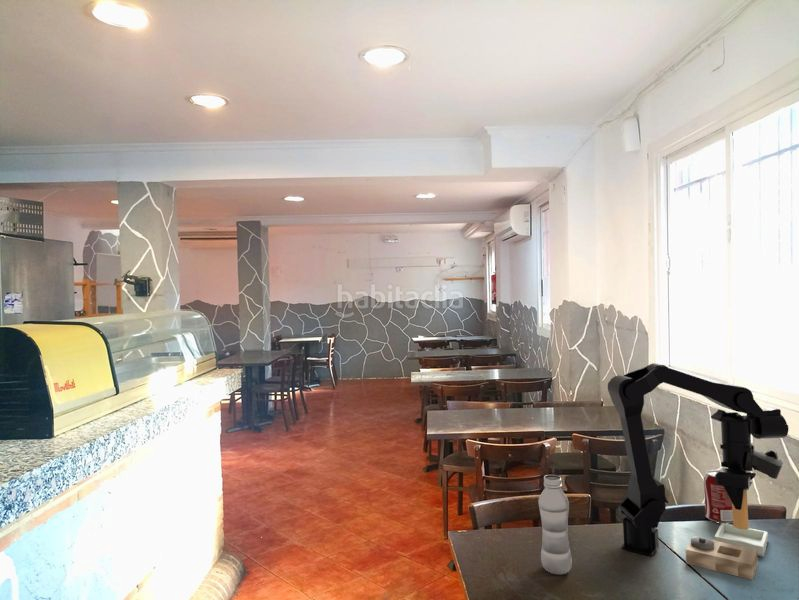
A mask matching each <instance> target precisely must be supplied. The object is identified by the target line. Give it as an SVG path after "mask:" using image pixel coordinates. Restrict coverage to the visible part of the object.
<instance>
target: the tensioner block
mask: <svg viewBox="0 0 799 600" xmlns="http://www.w3.org/2000/svg"><path fill="white" fill-rule="evenodd" d="M758 562H759V561H758V556H757V550H755V549H750V548H746V547H741V546H737V545H732V544H728V543H723V542H719V541H715V539H710V538H709V539H708V538H705V537H700V536H696V535H693V537H692V538H691V539H690V542H688V545H687V546H686V548H685V564H687V565H692V566H695V567H700V568H704V569H708V570H712V571H716V572H719V573H724V574H728V575H731V576H736V577H739V578H743V579H746V580H752V581H754V577H755V575H756V571H757V568H758V565H759V563H758Z"/></svg>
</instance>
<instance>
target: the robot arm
mask: <svg viewBox="0 0 799 600" xmlns="http://www.w3.org/2000/svg"><path fill="white" fill-rule="evenodd" d="M663 383H664V384H667V385H670V386H673V387H676V388H679V389H682V390H686V391H687V392H688V391H689V392H690V393H691V392H692V393H694V394H697V395H701V396H702V397H704V398H706V399H707V400H708V401H710V402H712V403H714V404H715V405H718V406H720V407H722V408H725V409H728V410H731V412H726V411H725V410H723V409H721V408H720V409H719V408H717V411H716V412H715V413H712V415H710V419H712V420H715V421H717V422H720V428H721V429H720V431H721V443H720V445H719V446H720V447H719V448H720V449H721V451H722V453H721V454H722V460H721V462H720V463H721V464H720V467H722V468H720V469H718V470H719V471H718V472H717V473H716V475H715V483H716V484H718V485H723V487H724V489H725V490H726V492H727V494H728V496H729V498H730V499H731V501H732V503H733V505H734V507H735V509H738V510H741V508H742V502H743V496H744V490H745V489H750V487H751V485H752V483H753V481H752V480H753V479H754V478H755V477H756V476H757V474H756V473H755V472H753V470H754V471H757V472H760V473H762V474H763V475H767V476H768V477H769V478H770V479H773V480H777V479H778V477H779V474H780V472H781V470H782V467H783V465H784V462H783V461H782V460H781V459H779V456H778V452H777V451H774V450H773V449H768V450H767V451H765V452H762V451H761V452H759V451H757V450H755V444H753V442H752V437H753V438H754V439H757V440H764V439H766V440H767V439H784V438H787V436H788V433H789V425H788V423H787V421H786V418H785V417H784V416H783V415H782V412H781V409H780V408H776V407H768V408H762V407H761V406H760V405H759V404H758V403H757V401H756V400H755V399H754V394H753V392H752V390H751V389H749V388H747V387H744V386H739V385H734V384H731V383H725V382H719V381H709V380H707V379H704V378H701V377H698V376H695V375H691V374H689V373H687V372H686V373H685V372H682V371H679V370H677V369H674V368H671V367H668V366H667V365H665V364H659V363H655V362H654V363H650V364H648V365H646V366H645V367H642V368H639V369H636V370H633V371H630V372H628V373H626V374H624V375H621V374H619V375H615V376H613V377H611V379H609V381H608V383H607V391H608V393H609V396H610V399H611V401H612V404H613V406H614V408H615V410H616V412H617V413H618V415H619V417H620V424H621V428H622V433H623V440H624V445H625V450H626V456H627V461H628V466H629V471H630V476H629V480H628V485H627V496H626V497H625V498H624V499H623V500H622V501H621V502H620V503H619V505H618V509H619V511H620V514H621V515H623V516H624V518H623V519H622V530H623V533H622V535H623V544H622V545H621V549H622V550H626V551H630V552H634V553H638V554H641V555H646V556H648V557H649V556H650V557H651V556H653V554H654V553H655V551H657V549H658V548H659V543H660V542H659V529H658V526H659V523H660V520H661V517H662V515H663V513H665V512H666V509H667V508H666V504H668V503H669V501H668V499H667V498H666V487H665V484H663V483H662V482H661V481H659V480H657V479H656V478H654V476H653V475H654V474H653V472H652V465H651V462H650V457H649V451H648V446H647V441H646V435H645V430H644V424H643V419H642V413H643V409H644V405H645V395H647V394H649V393H651V392H653V391H654V390H655V389H656V388H658V386H659V385H661V384H663ZM732 411H734V412H732ZM740 413H744V414H746V415H741V414H740ZM751 436H752V437H751Z"/></svg>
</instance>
